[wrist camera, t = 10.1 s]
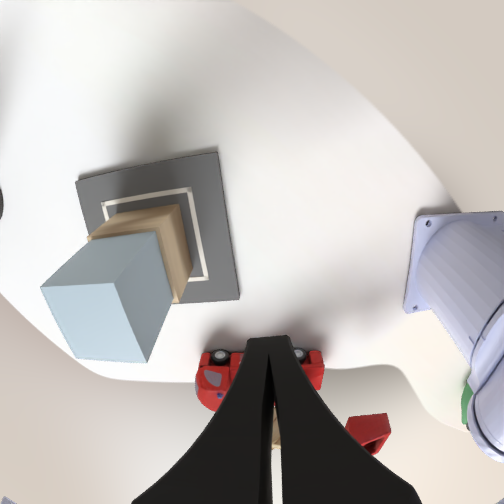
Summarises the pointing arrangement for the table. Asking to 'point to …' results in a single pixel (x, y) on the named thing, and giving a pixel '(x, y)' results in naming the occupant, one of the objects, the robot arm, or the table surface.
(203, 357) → the toy fire truck
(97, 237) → the beech block
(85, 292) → the bluegrey block
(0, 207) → the sundae
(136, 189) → the grey square pad
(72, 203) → the table surface
